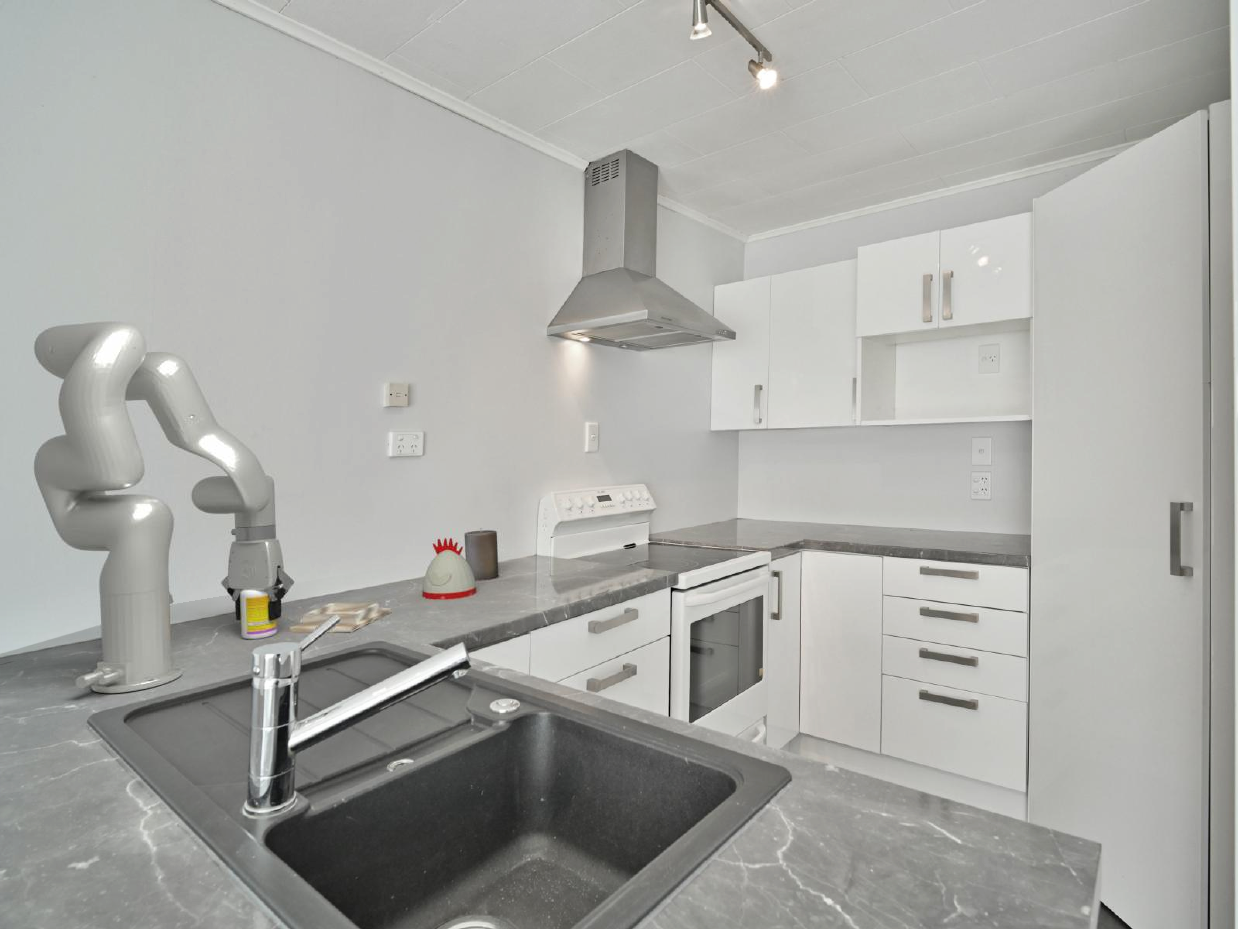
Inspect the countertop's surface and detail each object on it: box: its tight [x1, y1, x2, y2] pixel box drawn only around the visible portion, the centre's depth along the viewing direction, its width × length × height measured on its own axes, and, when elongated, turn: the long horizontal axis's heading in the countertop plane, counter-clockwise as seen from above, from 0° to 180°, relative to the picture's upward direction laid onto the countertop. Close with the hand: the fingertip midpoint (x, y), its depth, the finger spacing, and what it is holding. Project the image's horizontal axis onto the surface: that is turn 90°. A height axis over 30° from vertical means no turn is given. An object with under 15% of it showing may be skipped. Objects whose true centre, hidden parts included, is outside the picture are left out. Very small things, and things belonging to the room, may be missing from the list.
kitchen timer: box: [421, 537, 477, 601], centre depth 179 cm, size 14×14×15 cm
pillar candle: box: [464, 527, 500, 581], centre depth 202 cm, size 10×10×15 cm
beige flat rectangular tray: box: [289, 601, 392, 634], centre depth 152 cm, size 18×14×3 cm
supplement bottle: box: [240, 589, 278, 640], centre depth 141 cm, size 7×7×13 cm
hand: (258, 618), depth 141 cm, fingers closed on supplement bottle, 6 cm apart
